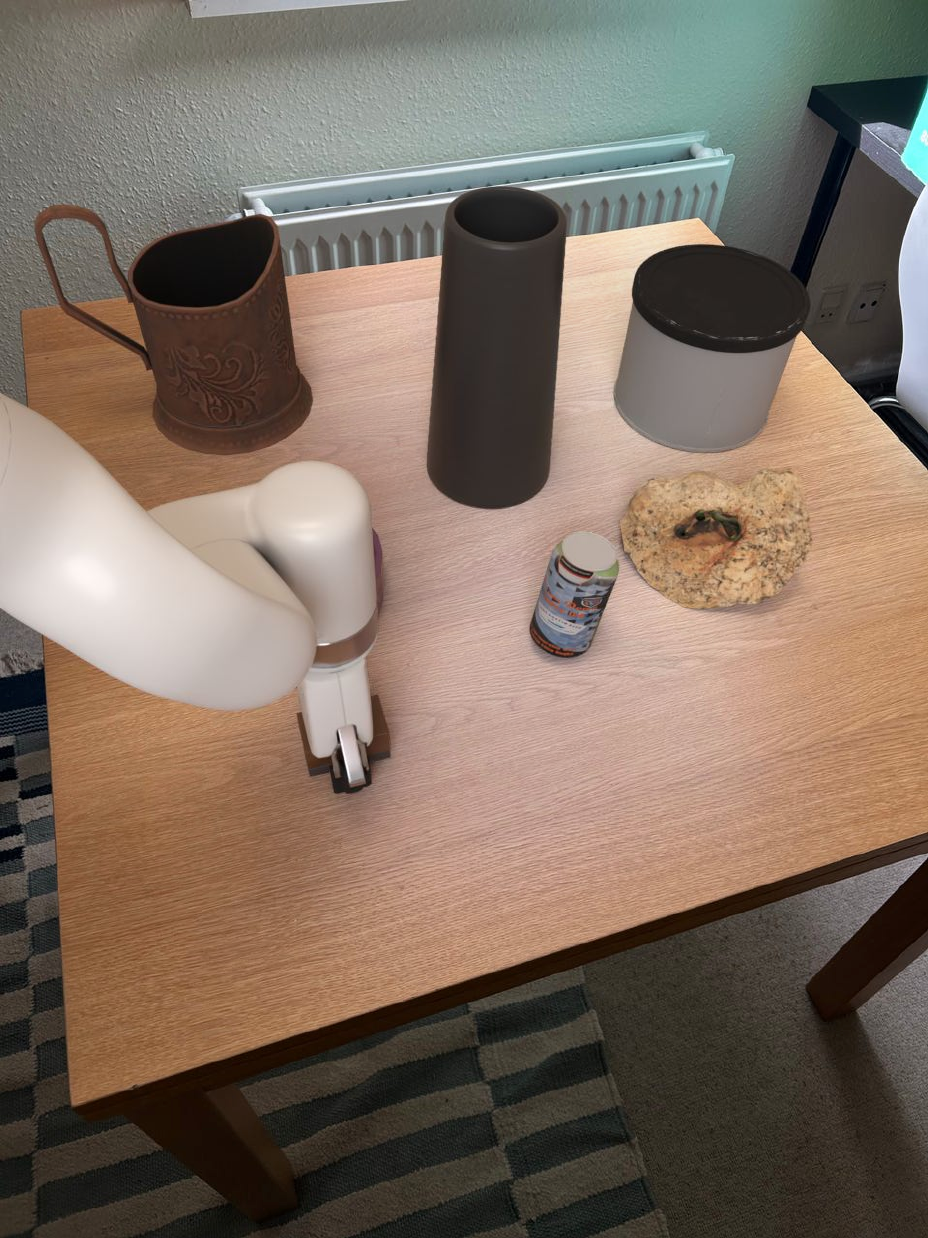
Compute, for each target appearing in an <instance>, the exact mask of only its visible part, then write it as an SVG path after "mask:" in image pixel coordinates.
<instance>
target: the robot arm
mask: <svg viewBox="0 0 928 1238" xmlns="http://www.w3.org/2000/svg"><path fill="white" fill-rule="evenodd" d="M372 519H373V518H372V509H371V501H370V498H369V495H368V492H367V490H366V488H365V487H364V485H363V484H362V482H361V481H360V480H359V479H358V478H357V477H356V476H355V475H354V474H353V473H352V472H350V471H349V470H347V469H346V468H344V467H342V466H340V465H337V464H335V463H332V462H328V461H322V460H301V461H295V462H291V463H288V464H287V463H286V464H285V465H282V466H280V467H278V468H276V469H274V470H272V471H271V472H270V473H268V474H266V476H264V477H263V478H262V479H261V480H259V481H258V482H253V483H251V484H247V485H242V486H239V487H233V488H230V489H225V490H219V491H215V492H209V493H206V494H200V495H195V496H191V497H185V498H180V499H177V500H172V501H170V502H166V503H163V504H161V505H157V506H155V507H153V508H150V509H149V510H146V509H144V507H143V506H142V505H141V504H140V503H139V502H138V501H137V500H136V499H135V498H134V497H133V496H132V495H131V494H130V493H129V492H128V491H127V490H126V489H125V488H124V486H122V485H121V483H120V482H119V481H118V480H117V479H116V478H115V477H114V476H113V475H112V474H111V473H110V472H109V471H108V469H106V468H105V466H103V465H102V464H101V463H100V462H99V461H98V460H97V459H96V458H95V457H94V456H93V454H91V453H90V452H89V451H87V449H86V448H84V447H83V446H82V445H81V444H80V443H79V442H77V441H76V440H75V439H73V437H72V436H71V435H69V434H68V433H66V432H65V431H64V430H63V429H61V427H59V426H58V425H57V424H55V423H54V422H52V421H51V420H50V419H49V418H47V417H45V416H44V415H42V414H41V413H39V412H37V411H35V410H34V409H31V408H30V407H29V406H25V405H24V404H22V403H20V402H18V401H16V400H14V399H13V398H10V397H9V396H7V395H6V394H4V393H1V392H0V609H1V610H2V611H4V612H5V613H7V614H8V615H9V616H11V617H13V618H14V619H15V620H17V621H19V622H21V623H22V624H24V625H25V626H27V627H29V628H30V629H32V630H34V631H36V632H38V633H39V634H40V635H43V636H45V637H46V638H47V639H49V640H51V641H53V642H54V643H56V644H57V645H59V646H61V647H62V648H65V649H66V650H68V651H69V652H71V653H72V654H73V655H75V656H77V657H78V658H81V659H82V660H83V661H85V662H87V663H88V664H90V665H91V666H94V667H95V668H96V669H98V670H100V671H102V672H103V673H105V674H107V675H109V676H111V677H113V678H115V679H116V680H118V681H120V682H122V683H125V684H126V685H128V686H130V687H133V688H134V689H137V690H139V691H142V692H144V693H146V694H150V695H152V696H155V697H159V698H162V699H165V700H169V701H171V702H176V703H180V704H185V705H188V706H192V707H197V708H201V709H207V710H213V711H219V712H240V711H241V712H243V711H249V710H255V709H259V708H262V707H266V706H268V705H270V704H273V703H275V702H276V701H279V700H280V699H282V698H284V697H286V696H287V695H289V694H290V693H291V692H293V690H295V689H296V693H297V697H298V702H299V706H300V710H301V711H300V712H302V715H303V719H304V724H305V728H306V732H307V737H308V741H309V745H310V748H311V752H312V754H313V755H315V756H316V757H318V758H323V757H329V756H330V755H331V761H332V764H331V765H330V766H329V768H330V772H329V773H330V775H329V776H330V779H331V785H332V786H331V787H332V790H333V793H334V794H335V795H338V794H343V793H345V794H347V795H351V794H355V793H359V792H361V791H363V790H364V788H367V787H370V786H372V785H373V782H372V771H371V762H370V760H369V757H368V756H367V754H366V748H365V744H366V745H367V746H369V745H370V743H371V742H372V740H373V718H372V706H371V696H372V695H371V687H370V685H371V684H370V675H369V668H368V667H369V666H368V660H367V659H368V658H367V656H369V654H370V653H371V651H372V650H373V649H374V647H375V645H376V643H377V640H378V637H379V630H380V628H379V614H378V612H379V611H377V595H376V580H375V564H374V549H373V533H372V527H373V522H372V521H373V520H372ZM337 733H338V736H339V737H337ZM337 750H342V754H343V759H340V760H339V759H338V754H337Z"/></svg>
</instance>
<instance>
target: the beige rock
mask: <svg viewBox="0 0 928 1238" xmlns="http://www.w3.org/2000/svg"><path fill="white" fill-rule="evenodd" d="M802 480H803V475H802V474H801V473H800V472H799V471H798V470H796V469H794V468H793V467H784V468H774V469H773V468H771V467H768V466H765V467H762V468H760V469H759V470H758V471H757V472H756V473H755V474H753V475H752V476H751V477H749V478H748V479H747V480H746V482H744V483H741V484H736V483H734V482H733V481H730V480H728V479H727V478H724V477H722V476H720V475H718V474H716V473H714V472H710V471H705V470H696V471H692V472H688V473H686V474H685V475H683V476H679V477H678V478H672V477H661V476H660V477H659V478H658V479H656V478H649V479H647V480H646V481H645V483H644V484H643V483H641V484H640V485H639V486H637V488H636V489H635V490H634V492H633V493H632V494H633V495H632V497H630V499H629V503H628V507H627V511H626V514H625V515H624V517H623V518H620V519H619V525H620V526H619V527H620V532H621V538H622V544H623V550H624V553H628V554H629V556H630V559H631V560H632V563H633V564H634V566H635V567H636V571H637V572H638V574H639V575H640V576H642V579H644V580H645V581H646V582H647V584H648V585H649V586H651V587H652V588H653V589H655V591H659V592H660V594H661V595H663V596H664V597H665V598H666V599H668V600H670V601H672V602H673V603H677V604H678V605H679V606H681V607H683V608H684V609H686V608H689V609H700V610H707V609H715V608H722V607H723V608H724V607H732V606H734V605H757V604H762V603H764V601H765V600H768V599H770V598H771V597H773V596H775V595H778V594H779V593H780V592H781V591H782V590H783V588H784V586H786V585H787V583H788V582H789V580H790V579H791V577H793V575H794V573H795V571H797V570H798V568H799V567H801V566H802V564H803V563H805V562H806V560H807V555H808V554H809V552H810V550H811V548H812V545H813V541H814V540H813V534H812V531H811V526H810V525H811V524H810V521H811V520H810V519H811V518H810V515H809V510H808V508H807V507H806V506H807V503H806V498H805V497H806V495H807V494H806V491H805V489H804V486H803V482H802Z"/></svg>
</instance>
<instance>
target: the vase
mask: <svg viewBox="0 0 928 1238" xmlns="http://www.w3.org/2000/svg"><path fill="white" fill-rule="evenodd" d="M567 228H568V220H567V216H566V213H565V211H564V209H563V208H562V207H561V206H560V204H558V203H557V202H556V201H554V200H553V199H552V198H550V197H548V196H546V195H544V194H543V193H540V192H537V191H534V190H531V189H527V188H522V187H517V186H507V185H504V186H503V185H502V186H500V185H499V186H485V187H480V188H475V189H472V190H470V191H468V192H467V191H466V192H464V193H462V194H460V195H459V196H457V197H456V198H454V199H453V200H452V201H451V202H450V204H449V205H448V206H447V208H446V211H445V216H444V227H443V239H442V253H441V265H440V279H439V291H438V305H437V316H436V326H435V327H436V329H435V330H436V331H435V333H436V334H435V345H434V357H433V370H432V379H431V380H432V381H431V382H432V386H431V397H430V406H429V407H430V409H429V422H428V423H429V425H428V434H427V452H426V470H427V471H426V472H427V475H428V477H429V479H430V481H431V482H432V484H433V485H434V487H435V488H436V489H437V490H438V491H439V492H441V494H443V496H446V497H447V498H449V499H450V500H452V501H455V502H456V503H459V504H461V505H464V506H468V507H472V508H476V509H485V510H486V509H487V510H490V509H491V510H498V509H506V508H510V507H514V506H517V505H521V504H523V503H525V502H527V501H529V500H531V499H532V498H534V497H535V496H536V495H538V494H539V493H540V491H541V490H542V489H543V488H544V487H545V485H546V483H547V481H548V478H549V476H550V468H551V456H552V443H553V441H552V440H553V430H554V419H555V418H554V417H555V415H554V413H555V400H556V391H557V390H556V389H557V386H556V385H557V373H558V372H557V371H558V359H559V348H560V347H559V346H560V345H559V344H560V330H561V317H562V303H563V288H564V271H565V258H566V244H567Z"/></svg>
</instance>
